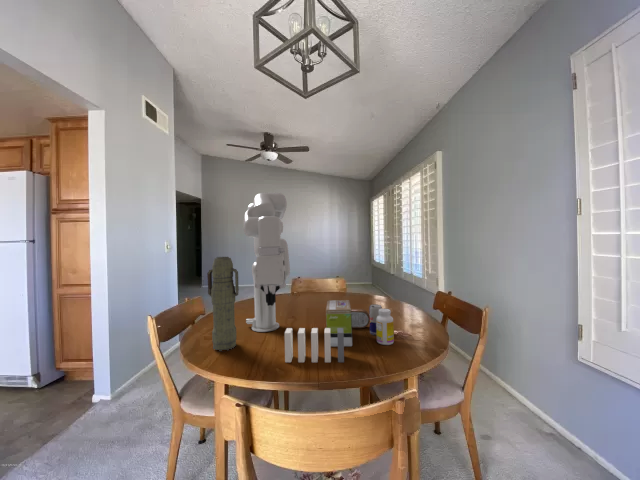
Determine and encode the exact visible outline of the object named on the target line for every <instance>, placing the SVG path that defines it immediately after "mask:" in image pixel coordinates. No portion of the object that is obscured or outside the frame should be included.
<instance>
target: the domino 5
mask: <svg viewBox="0 0 640 480" xmlns="http://www.w3.org/2000/svg"><path fill="white" fill-rule="evenodd" d="M337 332H338V346H337V363H345V350H344V349H345V346H344V332H343V328H337Z"/></svg>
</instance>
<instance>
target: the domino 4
mask: <svg viewBox="0 0 640 480" xmlns="http://www.w3.org/2000/svg"><path fill="white" fill-rule="evenodd" d="M323 332H324V335H323V336H324V363H331V362H332V355H331V354H332V353H331V351H332V346H331V336H330V328H327V327H325V328H324V331H323Z"/></svg>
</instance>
